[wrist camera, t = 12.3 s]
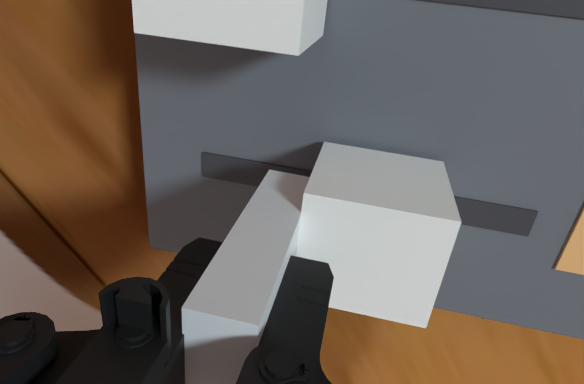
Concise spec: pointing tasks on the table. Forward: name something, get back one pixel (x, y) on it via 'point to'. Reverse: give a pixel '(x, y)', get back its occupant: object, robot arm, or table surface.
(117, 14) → the table surface
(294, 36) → the tab middle
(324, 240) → the tab
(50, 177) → the table surface
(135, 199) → the table surface
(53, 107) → the table surface
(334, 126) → the switch panel
